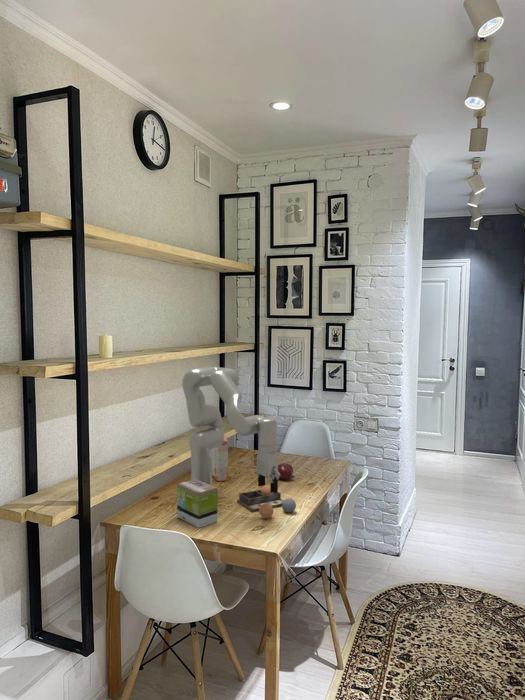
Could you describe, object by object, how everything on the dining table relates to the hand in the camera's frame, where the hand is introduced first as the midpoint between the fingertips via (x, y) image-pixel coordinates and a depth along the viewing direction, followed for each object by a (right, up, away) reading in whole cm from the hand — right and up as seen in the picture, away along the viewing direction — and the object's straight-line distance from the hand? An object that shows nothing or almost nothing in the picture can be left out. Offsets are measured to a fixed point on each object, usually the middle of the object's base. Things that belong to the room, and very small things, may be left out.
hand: (267, 488), depth 219 cm
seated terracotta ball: (0, -7, +21) cm, 22 cm away
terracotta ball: (-1, -10, +1) cm, 10 cm away
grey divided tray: (-2, -11, +18) cm, 21 cm away
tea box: (-29, -13, -2) cm, 32 cm away
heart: (+9, -9, +56) cm, 57 cm away
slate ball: (+9, -9, +8) cm, 15 cm away
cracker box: (-25, -9, +55) cm, 61 cm away
